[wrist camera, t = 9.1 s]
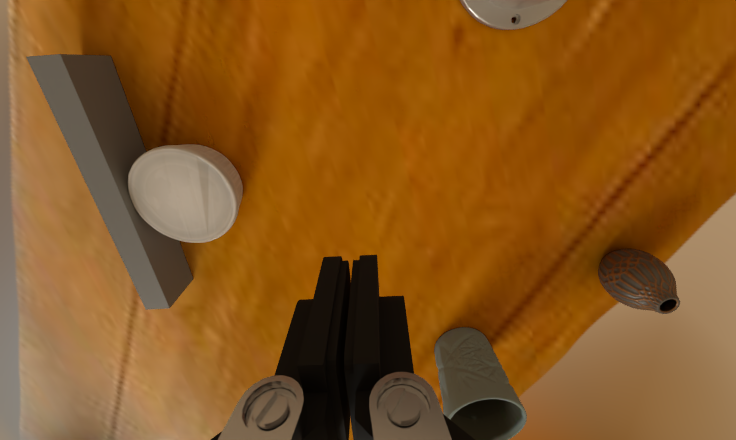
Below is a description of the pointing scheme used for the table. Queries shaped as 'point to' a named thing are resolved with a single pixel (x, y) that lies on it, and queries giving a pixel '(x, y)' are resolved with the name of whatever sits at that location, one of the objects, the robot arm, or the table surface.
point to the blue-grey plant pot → (476, 387)
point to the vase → (639, 280)
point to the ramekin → (186, 191)
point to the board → (111, 167)
